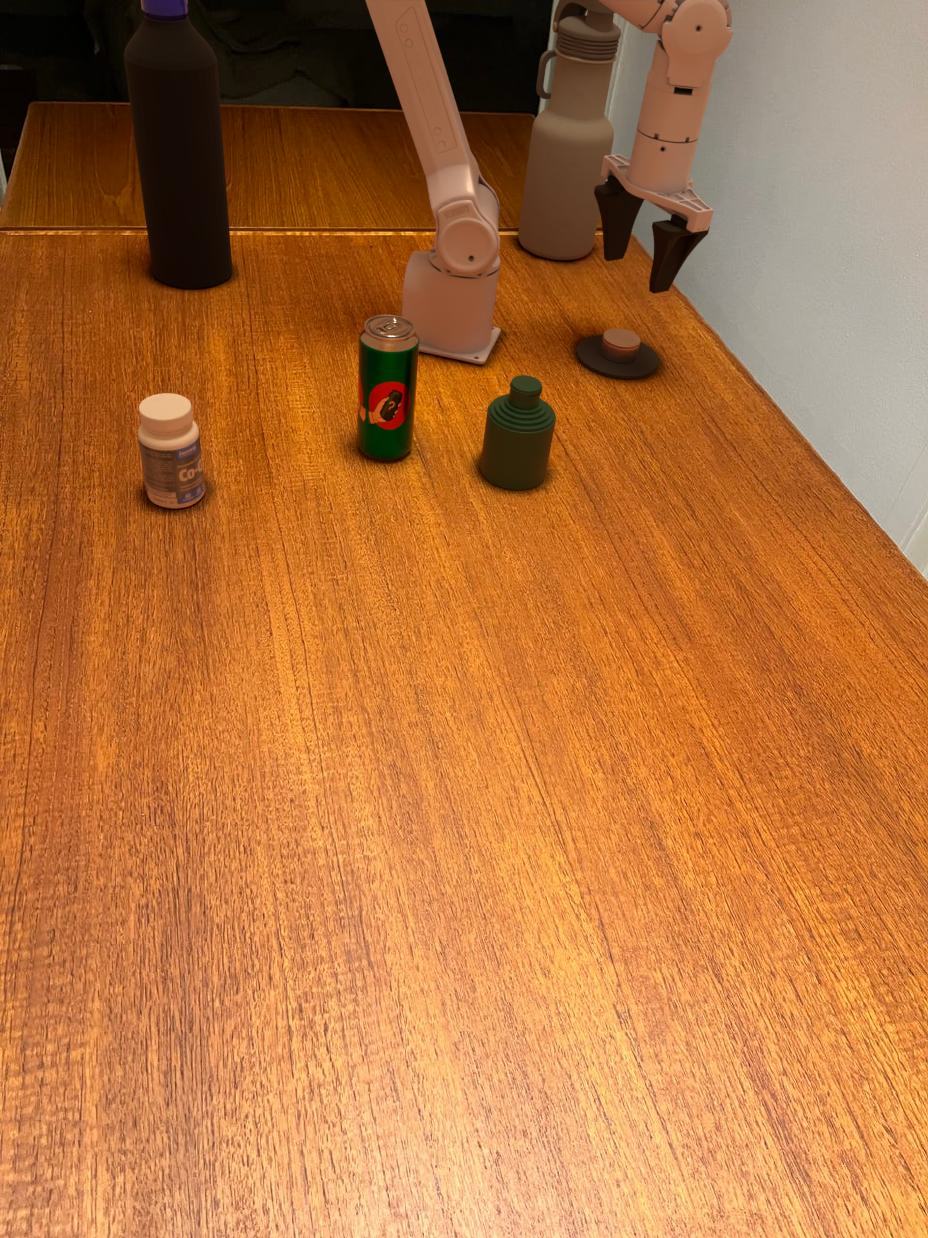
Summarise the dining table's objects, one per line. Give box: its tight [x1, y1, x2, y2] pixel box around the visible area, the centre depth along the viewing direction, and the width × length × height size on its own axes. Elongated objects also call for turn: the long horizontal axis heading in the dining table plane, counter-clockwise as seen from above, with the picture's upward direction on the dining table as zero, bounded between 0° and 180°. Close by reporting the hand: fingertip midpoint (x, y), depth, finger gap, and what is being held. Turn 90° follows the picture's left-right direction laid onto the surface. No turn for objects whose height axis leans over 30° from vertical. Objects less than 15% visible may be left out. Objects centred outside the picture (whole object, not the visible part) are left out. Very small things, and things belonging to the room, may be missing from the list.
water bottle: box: [517, 0, 622, 261], centre depth 116 cm, size 10×10×28 cm
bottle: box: [123, 0, 233, 289], centre depth 101 cm, size 9×9×28 cm
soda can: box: [356, 314, 420, 461], centre depth 85 cm, size 5×5×12 cm
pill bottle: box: [137, 392, 206, 509], centre depth 78 cm, size 5×5×8 cm
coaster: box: [575, 333, 660, 380], centre depth 105 cm, size 9×9×1 cm
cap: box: [600, 328, 642, 363], centre depth 104 cm, size 4×4×2 cm
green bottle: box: [479, 374, 557, 491], centre depth 85 cm, size 6×6×9 cm
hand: (635, 274), depth 99 cm, fingers open, 7 cm apart
